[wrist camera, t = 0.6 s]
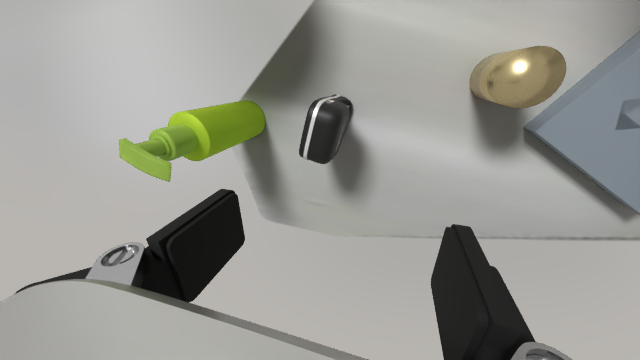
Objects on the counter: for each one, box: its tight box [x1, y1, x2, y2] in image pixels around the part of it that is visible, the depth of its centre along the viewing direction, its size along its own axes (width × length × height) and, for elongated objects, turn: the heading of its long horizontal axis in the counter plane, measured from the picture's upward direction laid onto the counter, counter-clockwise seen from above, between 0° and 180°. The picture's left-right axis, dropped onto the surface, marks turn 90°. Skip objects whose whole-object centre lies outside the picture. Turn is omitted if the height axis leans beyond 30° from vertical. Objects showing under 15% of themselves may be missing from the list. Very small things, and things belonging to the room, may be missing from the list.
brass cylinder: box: [470, 46, 566, 108], centre depth 24 cm, size 5×5×8 cm
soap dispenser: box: [119, 100, 265, 182], centre depth 30 cm, size 6×7×20 cm
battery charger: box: [299, 95, 352, 164], centre depth 29 cm, size 7×4×11 cm, turn 166°
